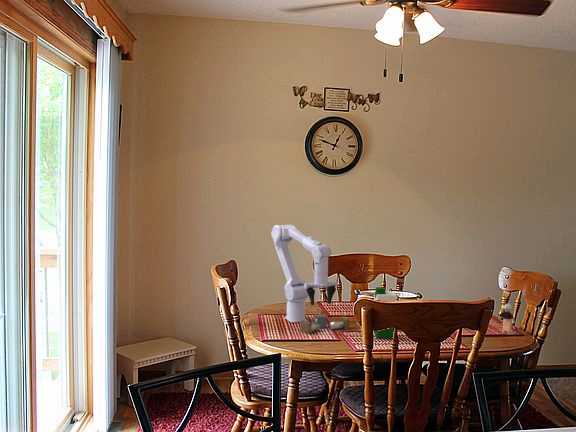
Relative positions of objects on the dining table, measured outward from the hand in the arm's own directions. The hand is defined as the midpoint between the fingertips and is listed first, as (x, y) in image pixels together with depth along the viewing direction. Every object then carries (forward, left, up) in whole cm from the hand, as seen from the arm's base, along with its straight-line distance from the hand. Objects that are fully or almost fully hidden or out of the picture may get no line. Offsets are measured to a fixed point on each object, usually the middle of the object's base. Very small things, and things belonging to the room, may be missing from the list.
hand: (320, 304), depth 250 cm
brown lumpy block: (+6, -6, -10) cm, 13 cm away
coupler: (0, 0, -10) cm, 10 cm away
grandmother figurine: (+28, +74, -10) cm, 80 cm away
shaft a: (+4, +7, -10) cm, 13 cm away
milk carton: (+20, +20, -10) cm, 30 cm away
